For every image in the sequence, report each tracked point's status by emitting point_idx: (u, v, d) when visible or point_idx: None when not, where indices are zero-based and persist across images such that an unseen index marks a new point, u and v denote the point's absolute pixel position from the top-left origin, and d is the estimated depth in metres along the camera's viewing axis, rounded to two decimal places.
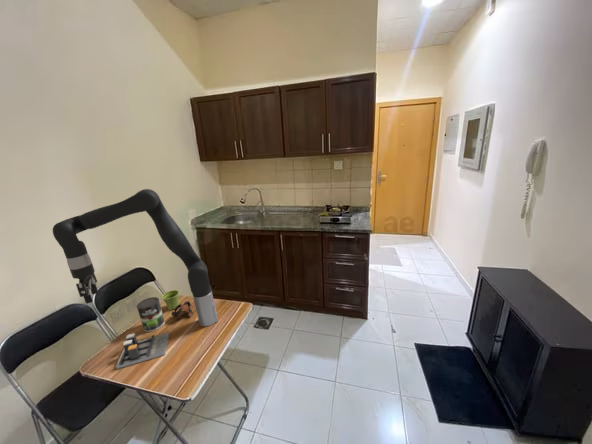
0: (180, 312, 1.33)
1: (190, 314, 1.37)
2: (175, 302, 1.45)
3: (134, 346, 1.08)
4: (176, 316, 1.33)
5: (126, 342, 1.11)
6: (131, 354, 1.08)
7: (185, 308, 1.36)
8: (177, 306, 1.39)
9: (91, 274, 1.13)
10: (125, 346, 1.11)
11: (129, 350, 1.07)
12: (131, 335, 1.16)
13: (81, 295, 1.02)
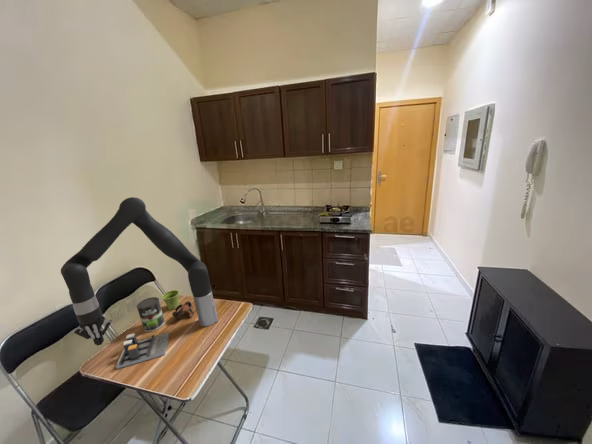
0: (181, 312, 1.33)
1: (191, 314, 1.37)
2: (175, 302, 1.45)
3: (134, 346, 1.08)
4: (177, 316, 1.33)
5: (126, 342, 1.11)
6: (131, 354, 1.08)
7: (186, 308, 1.36)
8: (178, 306, 1.38)
9: None
10: (125, 346, 1.11)
11: (129, 350, 1.07)
12: (131, 335, 1.16)
13: (104, 332, 1.03)
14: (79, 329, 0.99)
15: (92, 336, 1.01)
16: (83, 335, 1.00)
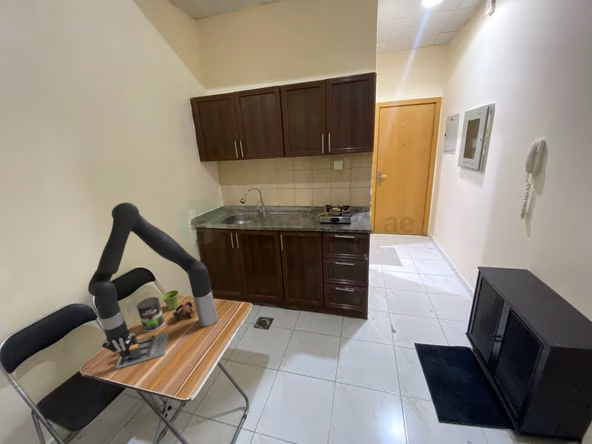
0: (182, 312, 1.33)
1: (192, 314, 1.36)
2: (175, 302, 1.45)
3: (136, 345, 1.09)
4: (178, 316, 1.32)
5: None
6: (133, 354, 1.08)
7: (187, 308, 1.35)
8: (178, 306, 1.38)
9: None
10: None
11: (131, 350, 1.07)
12: None
13: None
14: (106, 342, 1.04)
15: (118, 349, 1.06)
16: (110, 348, 1.04)
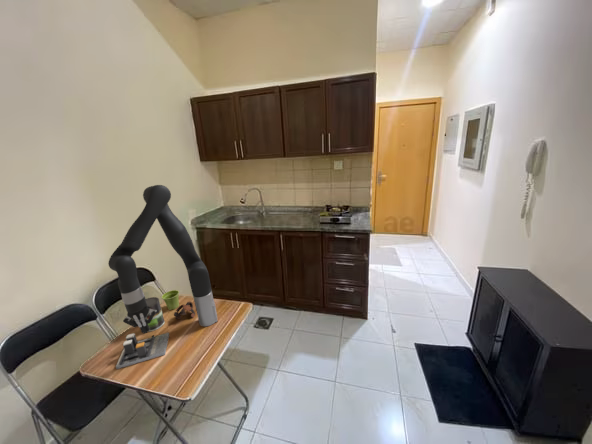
0: (183, 313, 1.33)
1: (193, 315, 1.36)
2: (175, 302, 1.45)
3: (142, 344, 1.09)
4: (179, 317, 1.32)
5: (126, 342, 1.11)
6: (139, 352, 1.09)
7: (188, 309, 1.35)
8: (179, 307, 1.38)
9: None
10: (125, 346, 1.11)
11: (137, 348, 1.08)
12: (131, 335, 1.16)
13: None
14: (127, 318, 1.05)
15: (139, 324, 1.06)
16: (131, 324, 1.05)
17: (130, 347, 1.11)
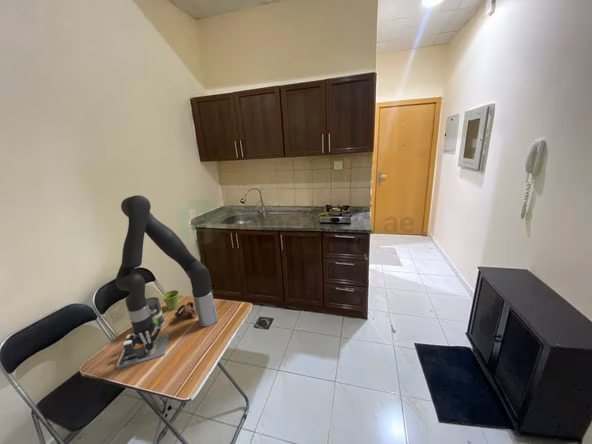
0: (184, 313, 1.32)
1: (193, 315, 1.36)
2: (175, 302, 1.45)
3: None
4: (180, 317, 1.32)
5: (126, 342, 1.11)
6: (137, 352, 1.09)
7: (188, 309, 1.35)
8: (180, 307, 1.37)
9: None
10: (125, 346, 1.11)
11: (135, 348, 1.08)
12: None
13: None
14: (133, 335, 1.07)
15: (144, 342, 1.08)
16: (136, 341, 1.07)
17: (130, 347, 1.11)
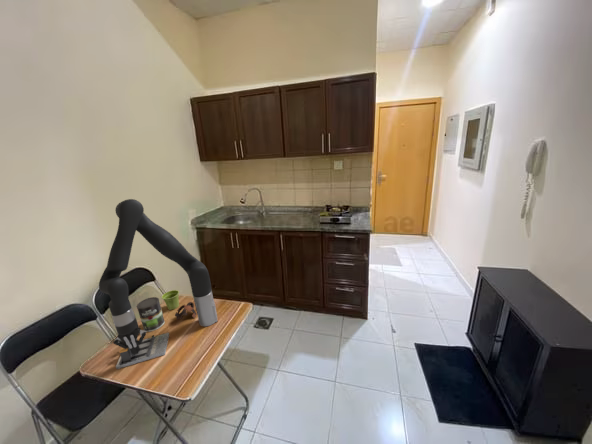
0: (184, 313, 1.32)
1: (194, 315, 1.36)
2: (175, 302, 1.45)
3: None
4: (180, 317, 1.32)
5: None
6: (123, 357, 1.07)
7: (189, 309, 1.35)
8: (180, 307, 1.37)
9: None
10: None
11: (121, 352, 1.06)
12: None
13: (140, 342, 1.08)
14: (118, 339, 1.05)
15: (129, 346, 1.06)
16: (121, 345, 1.05)
17: None
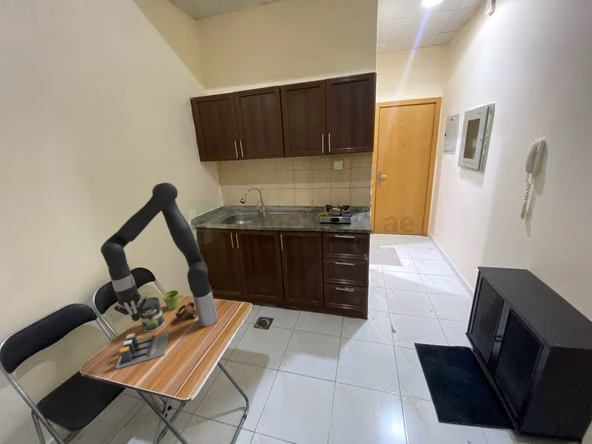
0: (185, 313, 1.32)
1: (194, 315, 1.36)
2: (175, 302, 1.45)
3: (126, 348, 1.07)
4: (181, 317, 1.32)
5: (126, 342, 1.11)
6: (123, 356, 1.07)
7: (189, 309, 1.35)
8: (181, 307, 1.37)
9: None
10: (125, 346, 1.11)
11: (121, 352, 1.06)
12: (131, 335, 1.16)
13: None
14: (118, 305, 1.06)
15: (130, 312, 1.07)
16: (122, 311, 1.06)
17: (130, 347, 1.11)
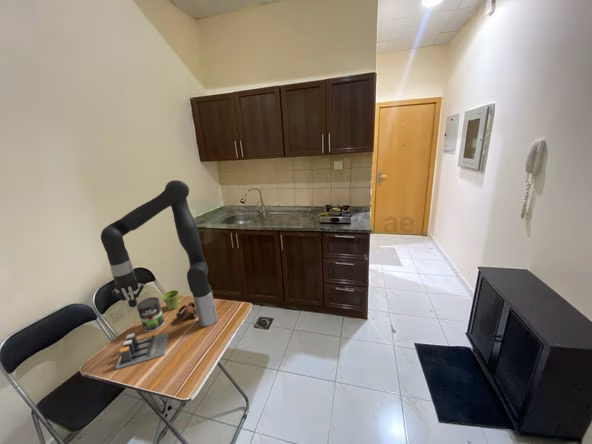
0: (185, 313, 1.32)
1: (195, 315, 1.36)
2: (175, 302, 1.45)
3: (126, 348, 1.07)
4: (181, 317, 1.31)
5: (126, 342, 1.11)
6: (123, 356, 1.07)
7: (190, 309, 1.34)
8: (181, 307, 1.37)
9: None
10: (125, 346, 1.11)
11: (121, 352, 1.06)
12: (131, 335, 1.16)
13: None
14: (116, 291, 1.06)
15: (127, 298, 1.08)
16: (119, 297, 1.06)
17: (130, 347, 1.11)
